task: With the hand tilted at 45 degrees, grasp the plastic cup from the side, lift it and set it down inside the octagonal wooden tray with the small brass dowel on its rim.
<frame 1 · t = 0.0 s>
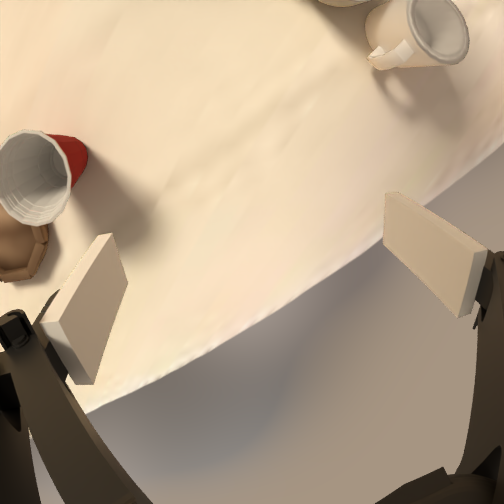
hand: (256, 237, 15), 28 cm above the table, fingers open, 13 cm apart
octagonal wooden tray: (6, 226, 39), on the table
plastic cup: (70, 158, 37), on the table
mug: (390, 38, 34), on the table
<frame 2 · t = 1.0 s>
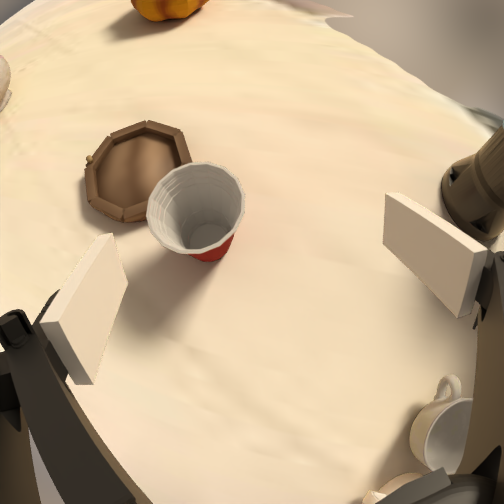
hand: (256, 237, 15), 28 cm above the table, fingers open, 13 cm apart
teacup: (431, 418, 36), on the table
decorative pumpkin: (174, 11, 65), on the table
octagonal wooden tray: (139, 173, 48), on the table
plastic cup: (207, 243, 44), on the table
mug: (395, 498, 32), on the table
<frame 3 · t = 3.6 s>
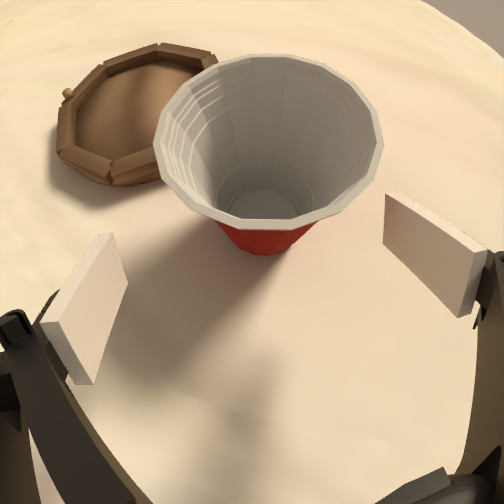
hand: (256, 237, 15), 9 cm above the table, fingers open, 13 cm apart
octagonal wooden tray: (142, 113, 28), on the table
plastic cup: (260, 222, 25), on the table
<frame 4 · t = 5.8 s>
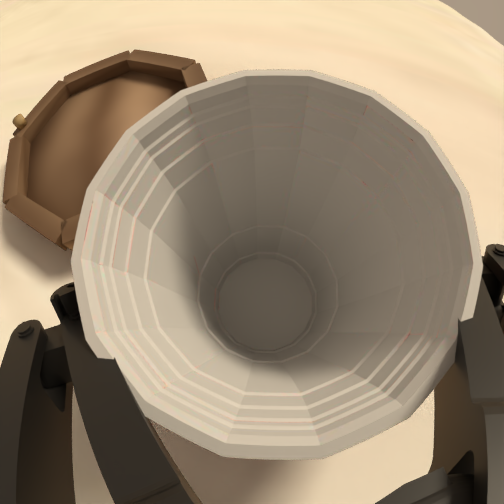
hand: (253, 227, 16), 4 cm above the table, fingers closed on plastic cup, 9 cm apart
octagonal wooden tray: (108, 144, 22), on the table
plastic cup: (261, 305, 18), on the table, touching gripper
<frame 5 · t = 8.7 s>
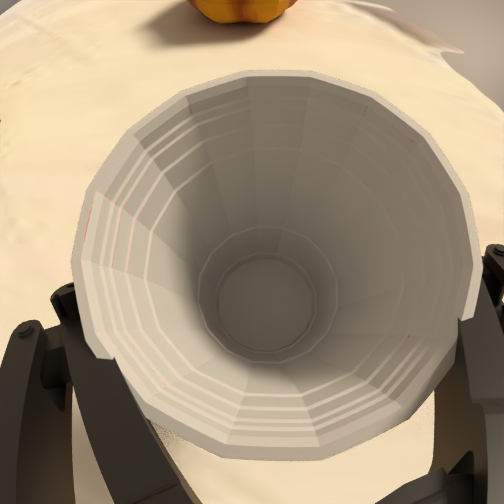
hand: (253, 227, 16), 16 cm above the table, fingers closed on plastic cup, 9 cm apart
decorative pumpkin: (243, 11, 47), on the table
plastic cup: (261, 305, 18), point 12 cm above the table, touching gripper
when the fingers open (5 cm above the table, at t = 11.6 s): plastic cup stays where it is, resting on octagonal wooden tray.
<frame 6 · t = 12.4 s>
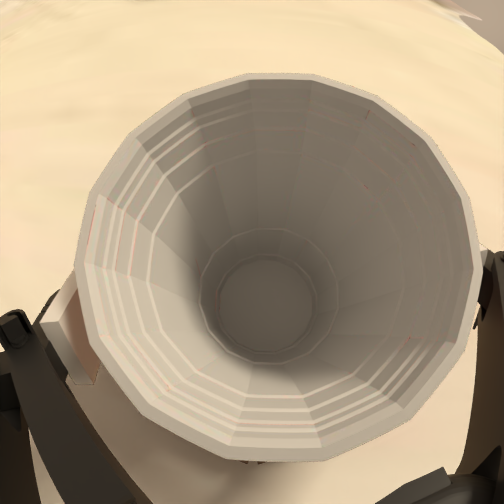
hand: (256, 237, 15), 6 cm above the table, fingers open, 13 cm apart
plastic cup: (261, 306, 19), point 1 cm above the table, touching octagonal wooden tray
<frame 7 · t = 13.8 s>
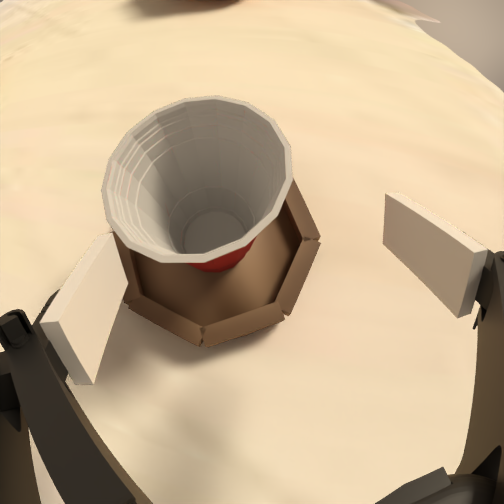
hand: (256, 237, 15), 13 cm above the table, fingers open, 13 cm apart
octagonal wooden tray: (213, 244, 29), on the table
plastic cup: (212, 242, 28), point 1 cm above the table, touching octagonal wooden tray
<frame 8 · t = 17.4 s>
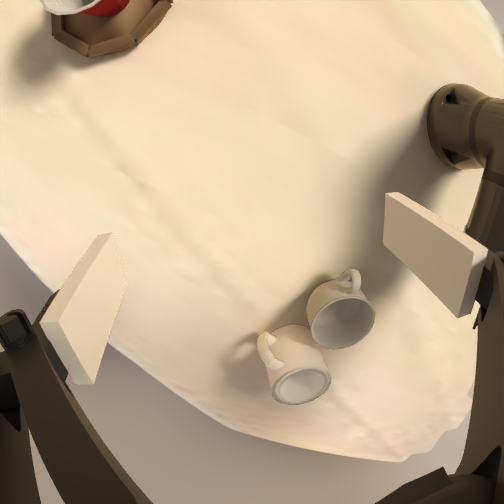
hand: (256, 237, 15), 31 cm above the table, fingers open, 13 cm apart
teacup: (332, 289, 55), on the table
octagonal wooden tray: (112, 1, 30), on the table
mug: (285, 341, 59), on the table
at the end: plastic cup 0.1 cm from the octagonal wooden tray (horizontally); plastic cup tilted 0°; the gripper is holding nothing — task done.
